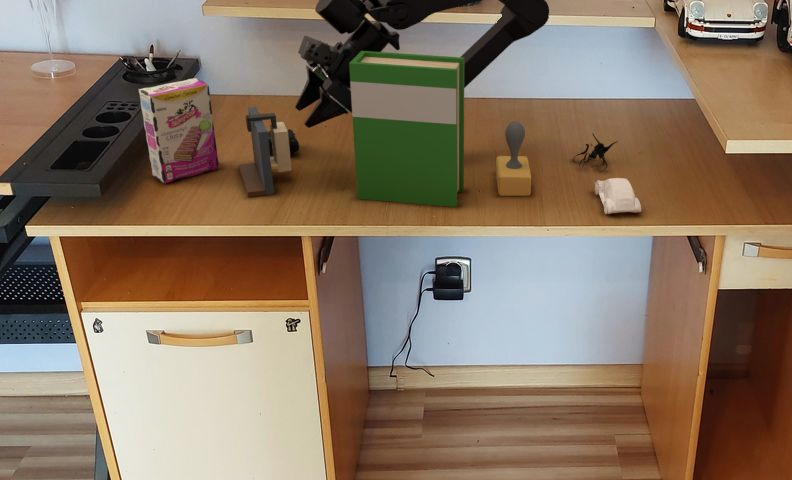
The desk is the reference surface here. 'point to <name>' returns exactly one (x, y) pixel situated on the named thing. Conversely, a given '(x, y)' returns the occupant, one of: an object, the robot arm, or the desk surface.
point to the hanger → (275, 140)
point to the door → (258, 162)
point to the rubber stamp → (513, 165)
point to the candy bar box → (179, 129)
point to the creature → (596, 152)
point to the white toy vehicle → (617, 196)
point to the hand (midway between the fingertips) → (301, 117)
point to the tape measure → (292, 142)
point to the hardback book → (408, 127)
